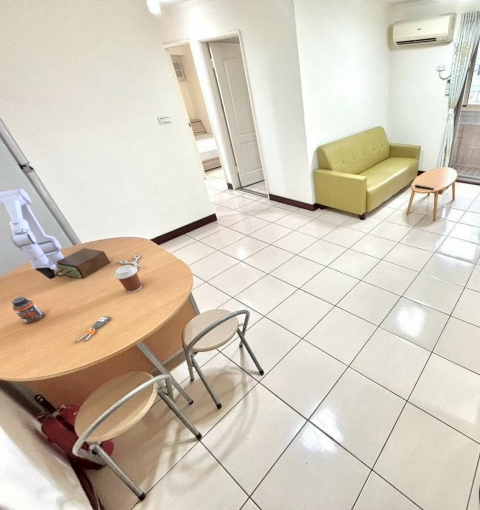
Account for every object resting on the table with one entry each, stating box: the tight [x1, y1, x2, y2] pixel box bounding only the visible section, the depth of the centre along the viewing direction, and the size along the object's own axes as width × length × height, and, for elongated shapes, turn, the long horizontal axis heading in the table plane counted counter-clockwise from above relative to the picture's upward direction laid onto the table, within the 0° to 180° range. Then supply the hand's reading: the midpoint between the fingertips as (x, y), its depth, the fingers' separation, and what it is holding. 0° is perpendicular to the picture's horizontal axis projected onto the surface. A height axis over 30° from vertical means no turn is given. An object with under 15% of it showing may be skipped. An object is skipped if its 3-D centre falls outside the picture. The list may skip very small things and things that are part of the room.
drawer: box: [54, 264, 83, 279], centre depth 147 cm, size 18×13×6 cm
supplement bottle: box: [11, 296, 44, 324], centre depth 118 cm, size 6×6×11 cm
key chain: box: [76, 315, 110, 342], centre depth 115 cm, size 13×4×2 cm, turn 174°
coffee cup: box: [114, 264, 143, 293], centre depth 134 cm, size 9×9×12 cm
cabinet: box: [57, 247, 111, 279], centre depth 150 cm, size 15×15×8 cm
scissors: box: [117, 254, 144, 270], centre depth 155 cm, size 11×1×20 cm
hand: (52, 277), depth 139 cm, fingers closed, pressing on drawer
